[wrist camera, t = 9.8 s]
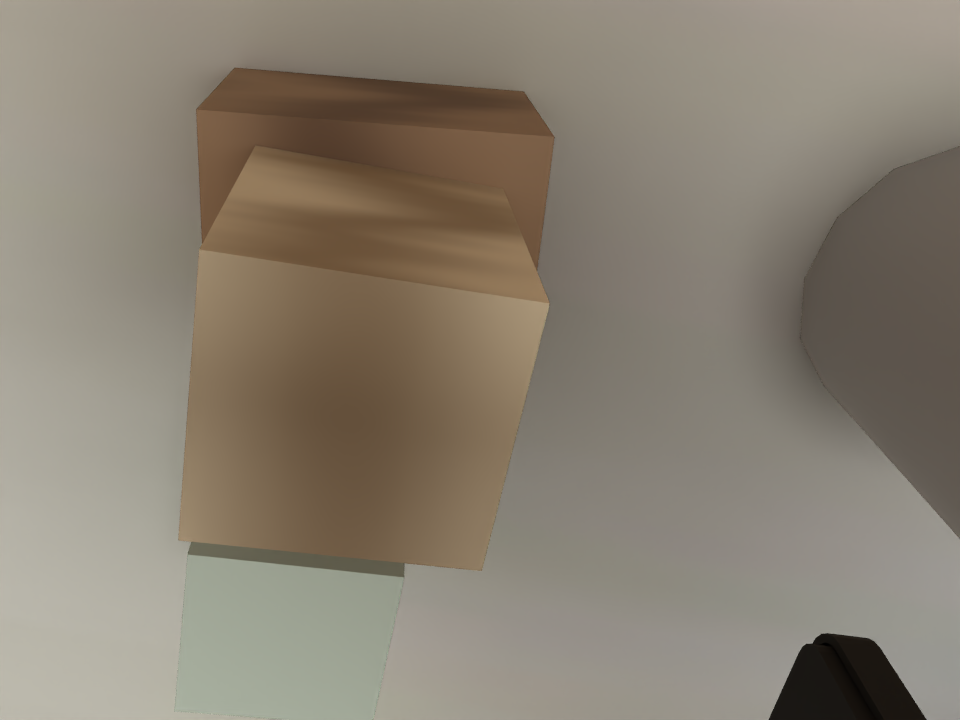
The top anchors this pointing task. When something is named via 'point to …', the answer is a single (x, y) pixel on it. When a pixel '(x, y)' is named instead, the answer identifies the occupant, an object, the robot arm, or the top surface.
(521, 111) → the walnut block
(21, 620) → the top surface
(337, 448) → the maple block
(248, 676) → the sage block
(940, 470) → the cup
